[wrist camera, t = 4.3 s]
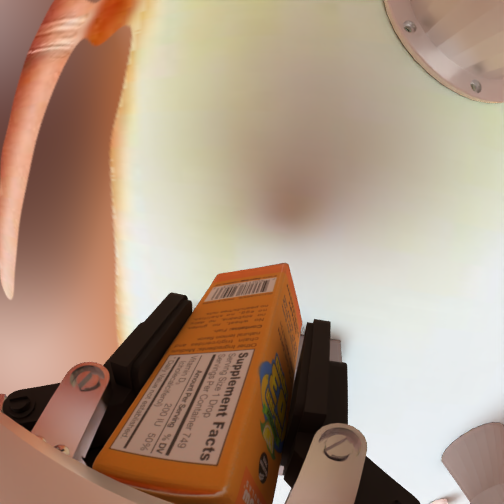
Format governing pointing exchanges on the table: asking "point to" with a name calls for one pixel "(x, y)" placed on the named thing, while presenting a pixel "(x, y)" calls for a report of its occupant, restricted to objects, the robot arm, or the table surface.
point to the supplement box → (216, 398)
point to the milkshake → (440, 501)
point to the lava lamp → (479, 463)
